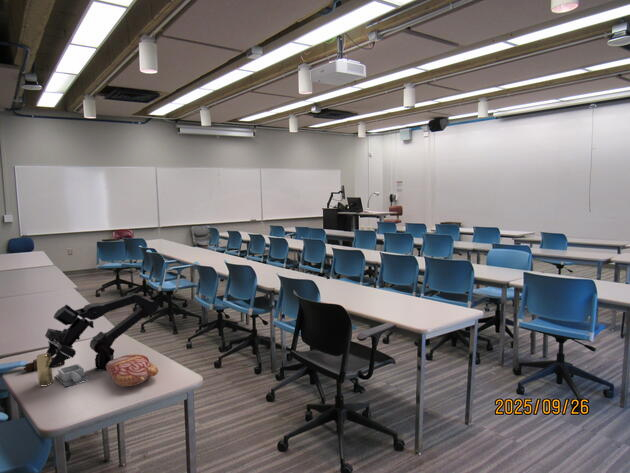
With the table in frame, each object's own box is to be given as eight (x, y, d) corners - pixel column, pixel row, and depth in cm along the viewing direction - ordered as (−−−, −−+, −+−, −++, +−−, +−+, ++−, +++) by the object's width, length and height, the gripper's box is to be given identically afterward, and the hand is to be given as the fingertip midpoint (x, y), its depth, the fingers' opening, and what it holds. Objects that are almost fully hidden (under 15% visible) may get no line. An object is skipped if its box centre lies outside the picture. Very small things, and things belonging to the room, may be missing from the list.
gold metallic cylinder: (55, 381, 175) (53, 352, 174) (48, 386, 170) (46, 357, 169) (43, 381, 175) (41, 353, 174) (36, 386, 170) (33, 357, 169)
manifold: (79, 369, 186) (78, 361, 185) (89, 380, 175) (89, 371, 175) (55, 376, 179) (55, 368, 179) (65, 387, 169) (64, 378, 169)
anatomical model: (118, 378, 160) (99, 355, 183) (120, 397, 161) (101, 371, 184) (164, 366, 170) (140, 346, 194) (165, 383, 171) (141, 361, 194)
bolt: (24, 375, 185) (64, 365, 194) (25, 373, 181) (65, 363, 191) (22, 362, 187) (62, 352, 196) (22, 360, 183) (62, 350, 192)
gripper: (52, 316, 181) (23, 348, 174) (64, 325, 167) (33, 361, 161) (74, 330, 187) (47, 361, 180) (87, 340, 173) (58, 374, 167)
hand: (46, 364), depth 172 cm, fingers open, 9 cm apart
